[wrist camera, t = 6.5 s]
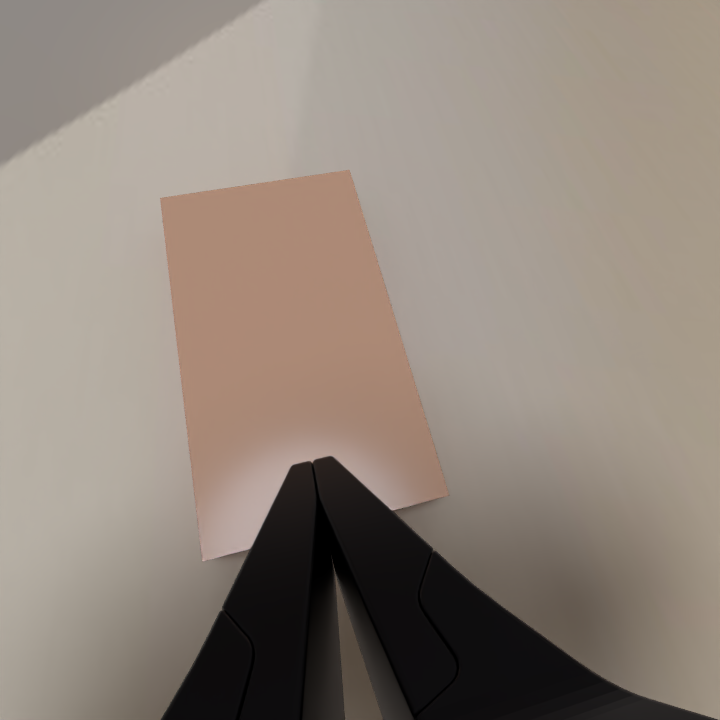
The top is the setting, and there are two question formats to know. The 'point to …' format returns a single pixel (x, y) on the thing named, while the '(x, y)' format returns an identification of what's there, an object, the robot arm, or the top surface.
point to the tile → (288, 352)
